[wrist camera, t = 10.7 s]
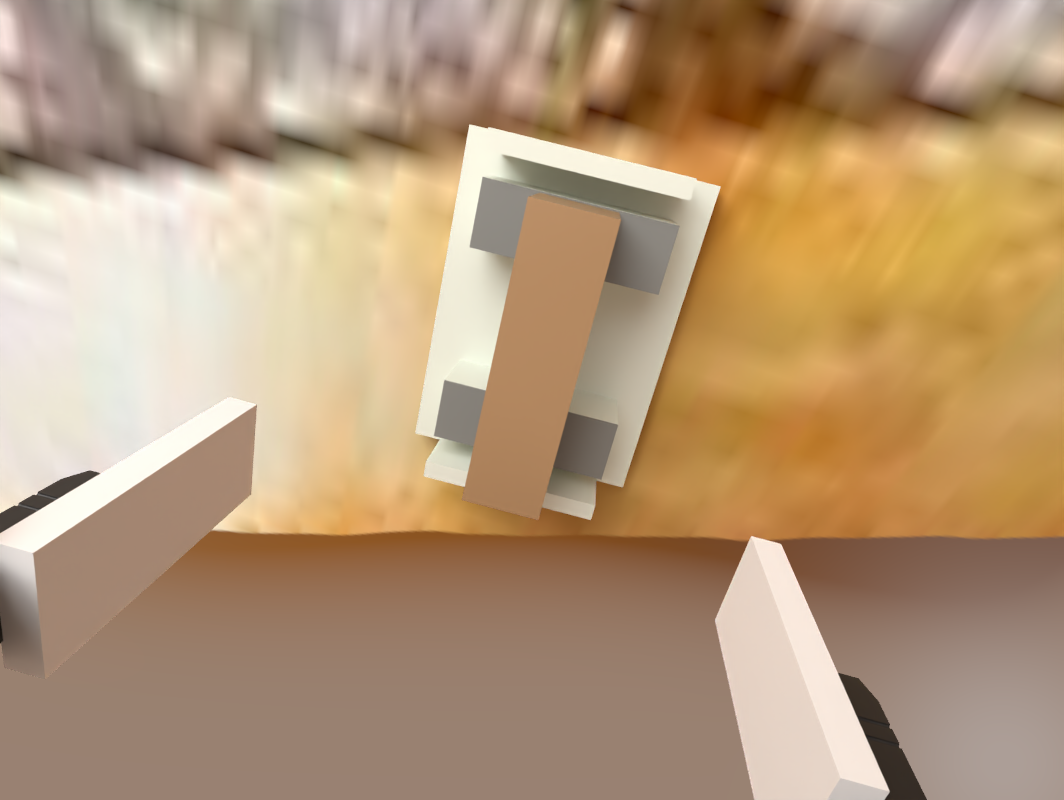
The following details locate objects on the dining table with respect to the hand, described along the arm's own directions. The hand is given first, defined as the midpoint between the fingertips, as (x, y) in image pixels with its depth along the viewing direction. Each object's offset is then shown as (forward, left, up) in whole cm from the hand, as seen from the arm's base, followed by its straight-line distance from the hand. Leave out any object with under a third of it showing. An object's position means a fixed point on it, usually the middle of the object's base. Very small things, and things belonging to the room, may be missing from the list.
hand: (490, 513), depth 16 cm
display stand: (0, 0, -24) cm, 24 cm away
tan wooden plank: (+1, 0, -18) cm, 18 cm away
